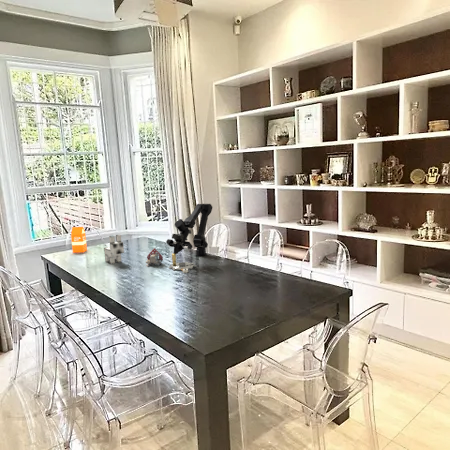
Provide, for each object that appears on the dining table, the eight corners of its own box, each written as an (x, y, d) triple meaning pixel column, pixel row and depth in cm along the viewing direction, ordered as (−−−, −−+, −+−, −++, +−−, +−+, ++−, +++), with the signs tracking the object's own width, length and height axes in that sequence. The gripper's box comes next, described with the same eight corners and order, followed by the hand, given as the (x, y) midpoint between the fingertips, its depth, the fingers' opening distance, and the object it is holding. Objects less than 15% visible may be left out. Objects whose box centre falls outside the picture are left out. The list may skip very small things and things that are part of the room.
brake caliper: (166, 258, 272) (161, 247, 263) (162, 271, 265) (158, 260, 256) (150, 258, 274) (146, 247, 265) (146, 271, 267) (141, 260, 258)
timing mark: (182, 271, 247) (182, 268, 247) (187, 271, 248) (187, 268, 248) (183, 272, 244) (183, 269, 244) (188, 272, 245) (188, 269, 245)
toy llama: (113, 258, 286) (111, 232, 282) (124, 263, 273) (122, 235, 269) (103, 261, 281) (101, 233, 277) (114, 265, 268) (112, 236, 264)
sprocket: (171, 263, 267) (171, 250, 265) (197, 262, 266) (196, 250, 264) (166, 270, 249) (165, 257, 248) (194, 270, 248) (193, 257, 247)
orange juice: (83, 252, 310) (81, 227, 307) (72, 252, 311) (70, 227, 307) (87, 249, 318) (84, 225, 315) (76, 250, 318) (73, 226, 315)
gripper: (167, 227, 265) (157, 246, 258) (189, 229, 256) (179, 250, 248) (174, 236, 273) (165, 255, 266) (196, 239, 264) (187, 258, 256)
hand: (174, 254), depth 259 cm, fingers closed, pressing on sprocket
